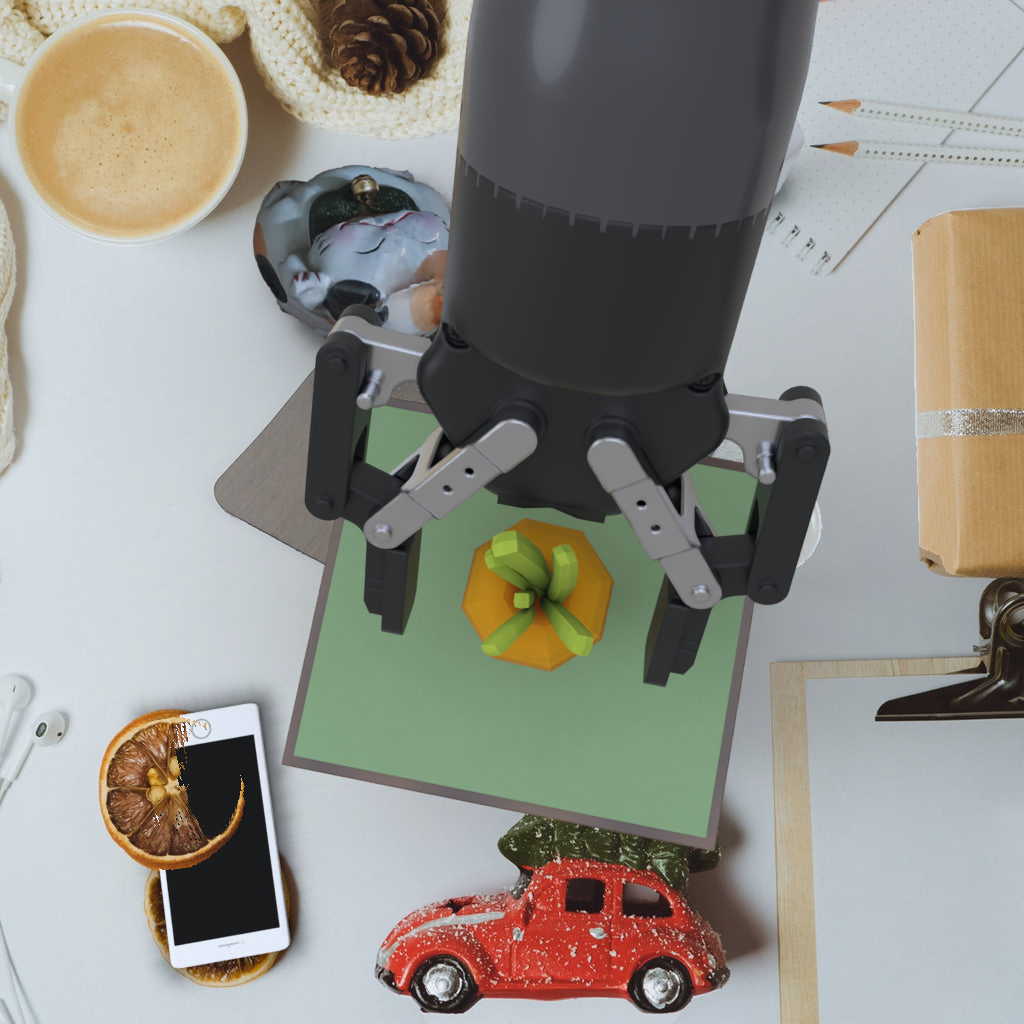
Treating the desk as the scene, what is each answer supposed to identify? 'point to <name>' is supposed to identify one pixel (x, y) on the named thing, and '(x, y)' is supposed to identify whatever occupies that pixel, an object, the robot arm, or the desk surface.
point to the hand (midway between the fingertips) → (526, 642)
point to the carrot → (537, 595)
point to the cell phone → (226, 846)
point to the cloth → (523, 671)
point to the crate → (501, 802)
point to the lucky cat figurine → (355, 248)
